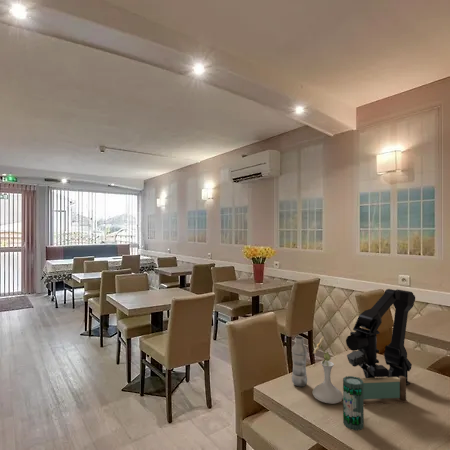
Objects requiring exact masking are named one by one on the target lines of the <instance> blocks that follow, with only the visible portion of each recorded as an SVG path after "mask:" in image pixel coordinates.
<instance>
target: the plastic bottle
mask: <svg viewBox="0 0 450 450" xmlns="http://www.w3.org/2000/svg"><path fill="white" fill-rule="evenodd" d="M304 343H305V340H304V337H303V336H300V335H299V336H297V335H296V336H295V338H294V344H293V346H292V348H291V352H292V353H291V355H292V363H293V364H292V374H291V381H292V384H293V385H294V386H296V387H300V388H301V387H305V386H306V385H307V383H308V377H307V376H308V375H307V368H306V367H307V364H306V363H307V355H308V349H307V347H306V345H305V344H304Z"/></svg>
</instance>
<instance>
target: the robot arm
mask: <svg viewBox="0 0 450 450" xmlns="http://www.w3.org/2000/svg"><path fill="white" fill-rule="evenodd" d="M415 301H416V295H415V294H414V293H413V292H412V291H409V290H405V289H398V288H397V289H391V288H387V289H385V290H384V293H383V294H382V296H381V297H379V299H378V300H377V301H376V302H375V303H374V305H373V306H372V307H371V308H370V309H366V310H364V311H363V312H361V313H360V314H359V315H358V318H357V319H356V322H355V324H354V326H353V329H352V330H353V331H351V332H350V335H348V336H347V337H346V339H345V344H346V346H347V348H348V349H349V350H351V352H350V353H348V354H347V355H346V357H347V360H348V363H349V364H350V365H351V366H352V367H360V368H361V369H362V372H363V375H364V378H381V377H398V378H399V376H404V377H406V385H411V382H410V381H408V372H410V371H411V370H412V366H413V364H412V363H411V361H410V360H409V359H408V352H407V349H406V347H405V340H406V333H407V332H406V330H407V324H408V323H407V322H408V317H409V312H410V310H412V309H413V307H414V305H415ZM392 305H393V306H394V308H395V312H394V319H393V325H392V326H393V327H392V332H391V333H392V334H391V340H390V342H389V344H386V345H385V346H384V353H383V357H384V360H385V365H387V366H389V368H386V366H384V365H382V364H379V363H380V360H379V359H377V357H378V356H377V354H378V353H380V350H379V349H378V348H377V347H378V346H377V342H378V341H377V335H379V334H380V331H379V328H380V326H381V325H382V318H383V316H384V315H385V314H386V313H387V312H388V310H389V309H390V308H391V306H392Z"/></svg>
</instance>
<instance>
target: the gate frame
mask: <svg viewBox="0 0 450 450" xmlns="http://www.w3.org/2000/svg"><path fill="white" fill-rule="evenodd" d="M356 377H357V376H356ZM357 378H360V379H361V378H362V377H357ZM399 379H400V398H382V399H363V406H364V405H365V406H368V405H387V404H389V405H390V404H391V405H393V404H408V403H409V401H408V400H407V384H406V377H404V376H399ZM361 380H362V379H361ZM362 381H363V380H362Z"/></svg>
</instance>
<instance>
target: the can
mask: <svg viewBox="0 0 450 450" xmlns="http://www.w3.org/2000/svg"><path fill="white" fill-rule="evenodd" d="M360 378H361V377H360ZM360 378H357V376H352V375H348V376H345V377H343V378H342V382H343V383H342V395H343V399H342V400H343V401H342V402H343V403H342V407H343V408H342V409H343V410H342V411H343V412H342V413H343V415H342V419H343V425H344V426H345V427H346V428H347V429H349V430H353V431H362V430H364V426H365V425H364V422H365V421H364V420H365V419H364V417H365V416H364V415H365V413H364V407H365V406H364V405H363V381H362V380H361V379H360Z"/></svg>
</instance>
